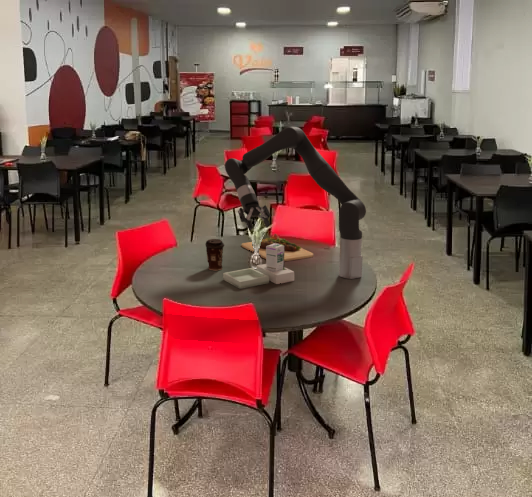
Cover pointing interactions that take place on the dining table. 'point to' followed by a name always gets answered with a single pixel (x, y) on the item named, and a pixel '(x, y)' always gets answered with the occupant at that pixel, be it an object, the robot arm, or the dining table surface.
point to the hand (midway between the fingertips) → (259, 227)
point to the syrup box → (275, 257)
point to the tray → (245, 278)
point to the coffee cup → (214, 254)
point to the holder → (277, 274)
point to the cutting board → (289, 248)
